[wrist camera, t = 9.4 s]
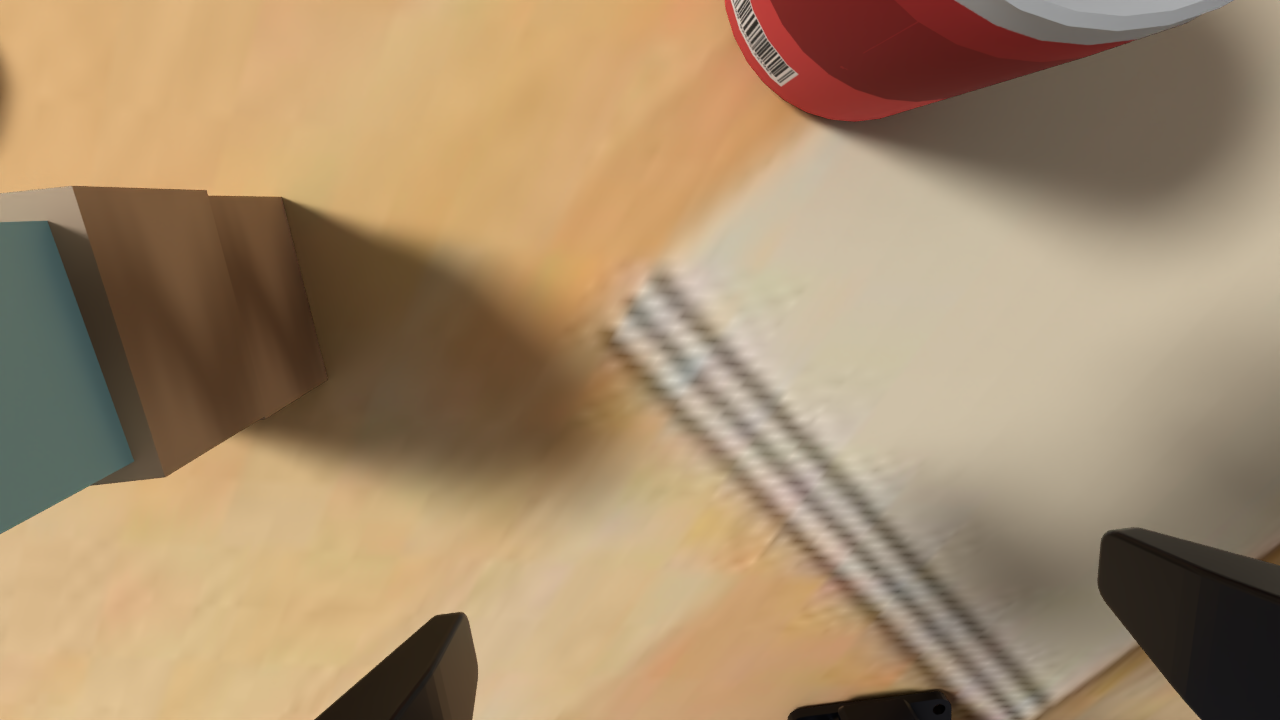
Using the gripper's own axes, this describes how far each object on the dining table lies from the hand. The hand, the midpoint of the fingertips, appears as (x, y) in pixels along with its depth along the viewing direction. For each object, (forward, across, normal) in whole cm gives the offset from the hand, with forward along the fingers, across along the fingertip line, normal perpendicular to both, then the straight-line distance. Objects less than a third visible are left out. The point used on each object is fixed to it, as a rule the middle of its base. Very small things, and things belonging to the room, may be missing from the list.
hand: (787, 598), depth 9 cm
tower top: (+9, +15, -4) cm, 18 cm away
